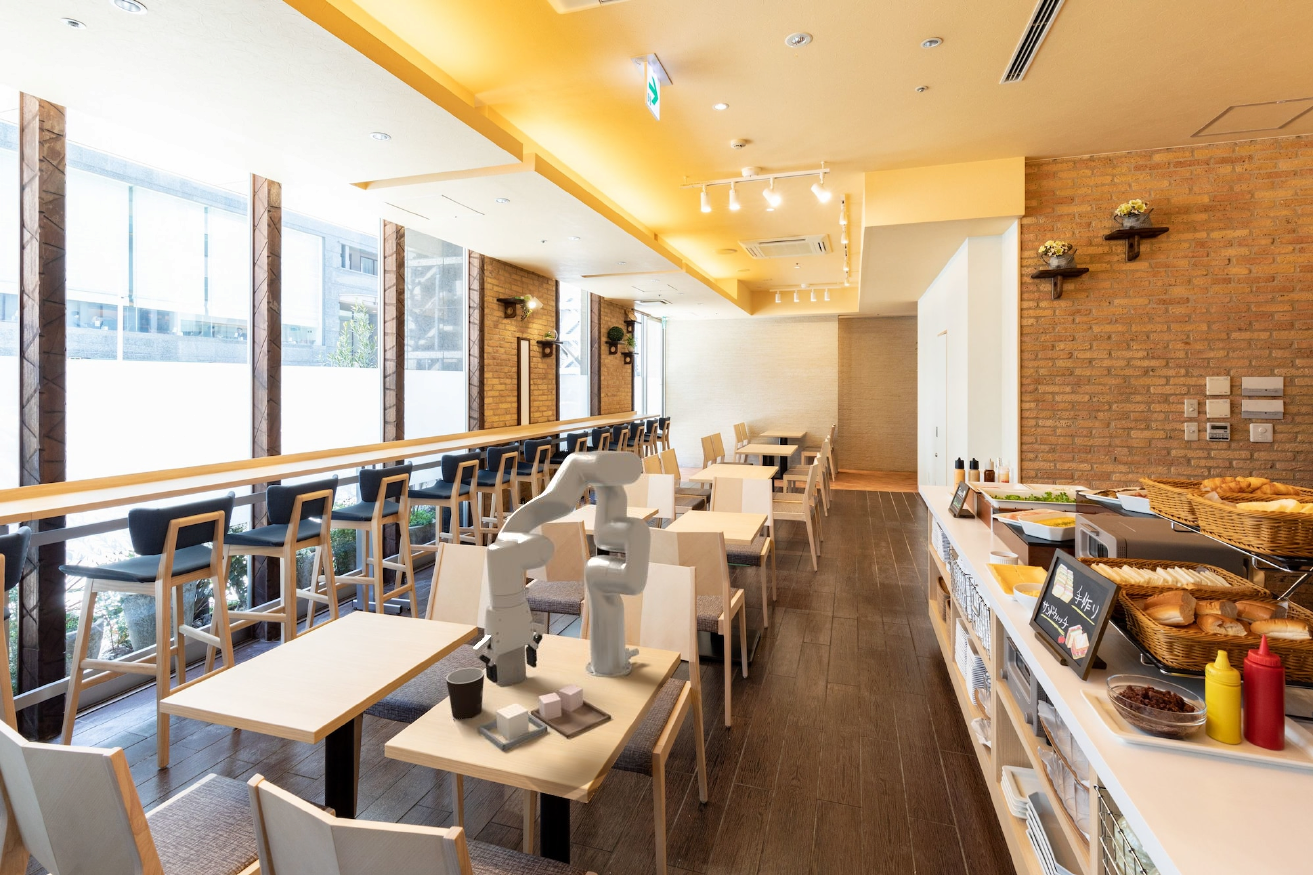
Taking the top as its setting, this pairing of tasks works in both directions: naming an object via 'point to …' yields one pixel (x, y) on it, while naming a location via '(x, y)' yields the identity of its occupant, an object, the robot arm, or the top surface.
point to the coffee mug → (465, 692)
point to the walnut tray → (574, 719)
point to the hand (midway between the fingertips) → (512, 673)
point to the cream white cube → (512, 721)
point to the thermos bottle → (511, 667)
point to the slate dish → (504, 746)
